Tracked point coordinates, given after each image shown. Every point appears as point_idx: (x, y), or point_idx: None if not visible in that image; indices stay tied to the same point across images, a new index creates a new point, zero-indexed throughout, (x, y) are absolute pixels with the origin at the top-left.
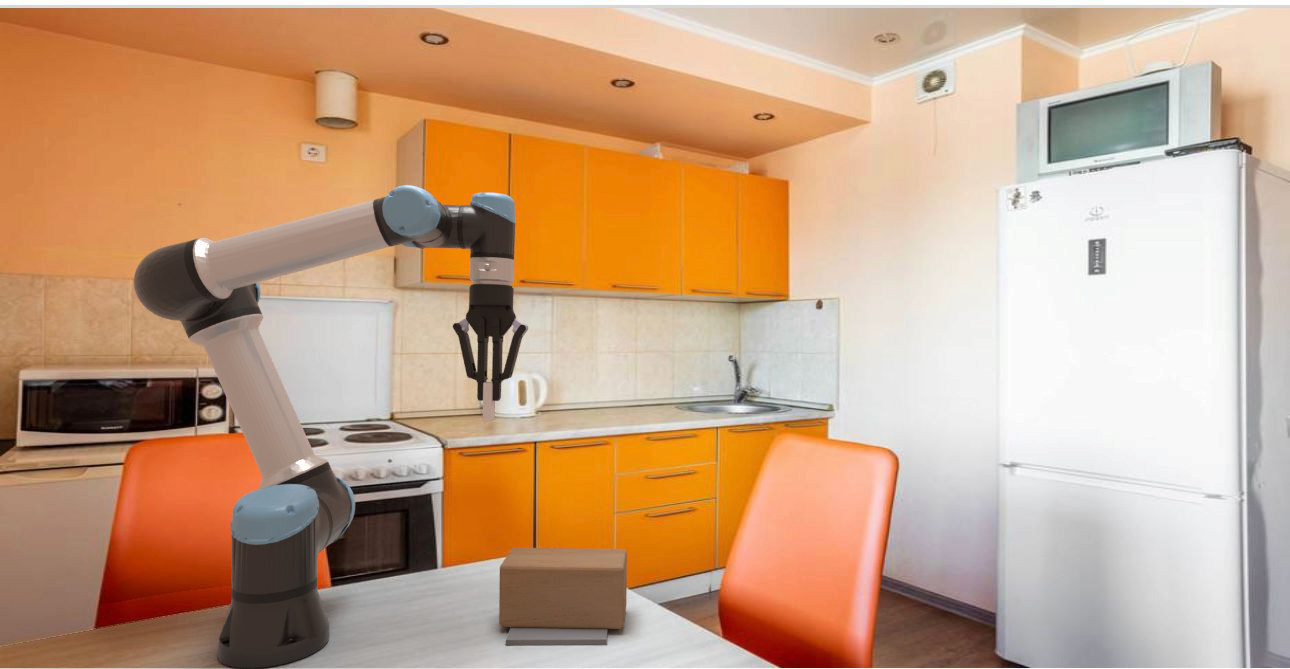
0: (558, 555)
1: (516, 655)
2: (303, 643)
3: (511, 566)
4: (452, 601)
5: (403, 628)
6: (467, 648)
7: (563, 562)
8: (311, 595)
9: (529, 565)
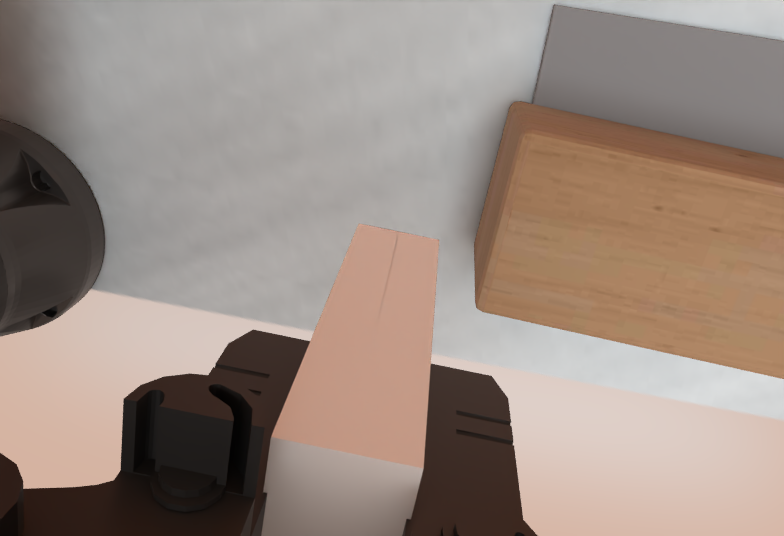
0: (671, 252)
1: (507, 355)
2: (71, 305)
3: (510, 317)
4: (341, 7)
5: (247, 176)
6: None
7: (672, 321)
8: (14, 291)
9: (564, 326)
